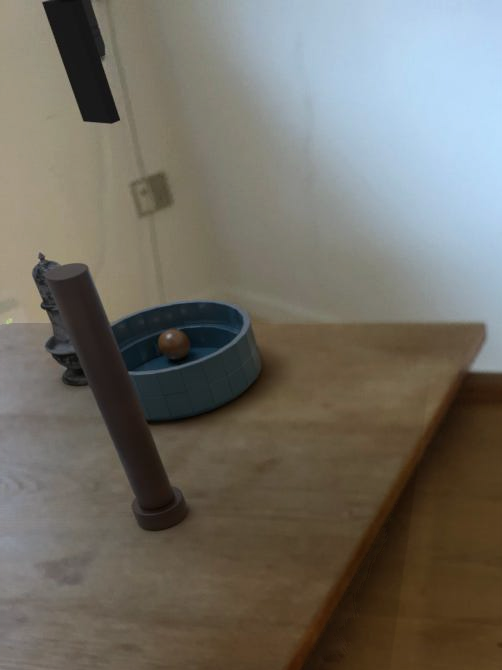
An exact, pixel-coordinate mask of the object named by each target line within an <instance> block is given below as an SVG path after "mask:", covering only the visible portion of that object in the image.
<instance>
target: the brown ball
mask: <svg viewBox="0 0 502 670" xmlns="http://www.w3.org/2000/svg"><path fill="white" fill-rule="evenodd" d="M158 347H159V350H160V352H161V353H162V354H163V355H164V356H165V357H166V358H168V359H170V360H174V361H176V360H181V359H183V358H185V357H186V356H187V355H188V353H189V351H190V341H189V339H188V337H187V335H186V334H185V333H184V332H182V331H181V330H178V329H167V330H165V331H164V332H163V333H162V334H161V335H160V337H159V340H158Z"/></svg>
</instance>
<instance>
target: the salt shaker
mask: <svg viewBox="0 0 502 670" xmlns="http://www.w3.org/2000/svg"><path fill="white" fill-rule="evenodd" d="M37 259H39V261H38V263H37V264H35V265H34V266H33V268H32V271H31V276H32V279H33V281H34V283H35V285H36V288H37V291H38V293H39V296H40V298H41V303H40V305H39V306H40V309H42V310H43V311H45V313H46V314H47V317H48V319H49V321H50V324H51V328H52V333H53V335H52V336H51V337H49V338H48V339H47V340H46V341H45V343H44V350H45V351H46V352H48V353H49V354H51V356H52V358H53V359H54V360H55V362H56V363H58V365H60V366H63V367H64V368H66V369H65V370H64V371H63V372H62V374H61V380H62V382H63V383H64V384H66V385H69V386H76V387H77V386H78V387H79V386H85V385H89V383H88V381H87V378H86V376H85V374H84V371H83V369H82V366H81V364H80V361H79V359H78V357H77V354H76V352H75V349H74V347H73V344H72V342H71V340H70V337H69V335H68V332H67V330H66V328H65V325H64V323H63V320H62V318H61V315H60V313H59V311H58V308H57V306H56V303H55V301H54V298H53V296H52V294H51V291H50V289H49V286H48V284H47V281H46V279H45V275H46V273H47V272H49V271H50V270H52V269H54V268H56V267H59V266H62V265H61V264H60V263H59V262H57V261H54V260H49V259H46V255H44V253H42V252H38V255H37Z"/></svg>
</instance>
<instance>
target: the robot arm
mask: <svg viewBox="0 0 502 670" xmlns="http://www.w3.org/2000/svg"><path fill="white" fill-rule="evenodd" d="M41 4H42V7H43V10H44V13H45V15H46V18H47V21H48V24H49V27H50V30H51V32H52V36H53V38H54V41H55V44H56V47H57V50H58V53H59V55H60V58H61V61H62V65H63V67H64V71H65V72H66V76H67V78H68V82H69V85H70V87H71V90H72V93H73V96H74V99H75V101H76V105H77V108H78V110H79V113H80V116H81V119H82V122H85V123H95V124H109V125H113V124H115V123H118V122H120V121H121V117H120V115H119V111H118V108H117V105H116V101H115V99H114V95H113V93H112V90H111V86H110V83H109V81H108V80H109V79H108V78H107V74H106V71H105V68H104V65H103V62H102V57H104V56H106V44H105V42H104V39H103V35H102V32H101V29H100V27H99V22H98V18H97V16H96V13H95V10H94V7H93V3H92V1H91V0H44V1H41Z"/></svg>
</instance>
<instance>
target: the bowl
mask: <svg viewBox="0 0 502 670" xmlns="http://www.w3.org/2000/svg"><path fill="white" fill-rule="evenodd" d="M110 326H111V328H112V331H113V333H114V336H115V339H116V341H117V344H118V347H119V349H120V352H121V355H122V357H123V360H124V362H125V365H126V368H127V370H128V373H129V376H130V378H131V381H132V384H133V386H134V389H135V392H136V394H137V397H138V399H139V402H140V405H141V407H142V410H143V413H144V415H145V418H146V421H147V422H149V421H150V422H152V421H153V422H161V421H173V420H179V419H184V418H185V419H186V418H190V417H194V416H197V415H201V414H204V413H208V412H210V411H213V410H215V409H217V408H220V407H222V406H224V405H226V404H228V403H230V402H232V401H233V400H234V399H237V398H238V397H239V396H240V395H242V394H243V393H244V392H245V391H246V390H247V389H248V388H249V387H250V386H251V385H252V384H253V383H254V381H255V380H256V379H257V378H258V377H259V374H260V372H261V370H262V367H263V363H262V358H261V354H260V353H261V352H260V350H259V346H258V343H257V339H256V335H255V331H254V328H253V324H252V320H251V317H250V314H249V313H248V312H247V311H246V310H245V309H244V308H243V307H241V306H239V305H238V304H235V303H232V302H229V301H224V300H219V299H188V300H179V301H177V300H176V301H173V302H167V303H162V304H157V305H154V306H150V307H147V308H144V309H139V310H137V311H135V312H131V313H129V314H127V315H125V316H123V317H120V318H118V319H117V320H115V321H113V322H111V323H110ZM167 329H178V330H181V331H182V332H184V333H185V334H186V335H187V337H188V339H189V341H190V351H189V353H188V355H187V356H186V357H185V358H183V359H181V360H176V361H174V360H170V359H168V358H166V357H165V356H164V355H163V354H162V353H161V352H160V350H159V347H158V340H159V337H160V335H161V334H162V333H163V332H164V331H165V330H167Z"/></svg>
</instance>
